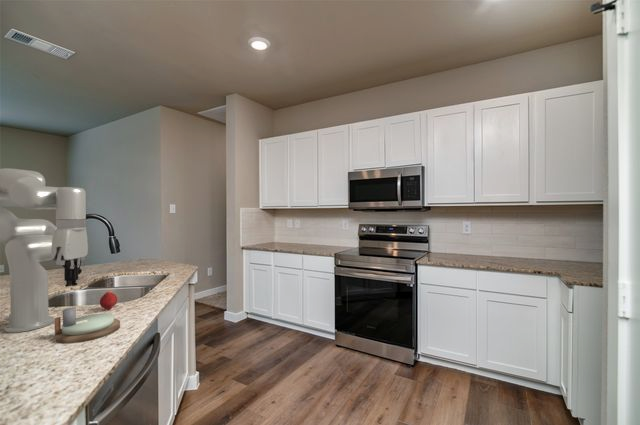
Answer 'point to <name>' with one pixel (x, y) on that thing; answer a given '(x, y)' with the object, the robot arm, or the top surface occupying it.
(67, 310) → the turntable
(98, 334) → the base plate
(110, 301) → the onion
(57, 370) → the top surface
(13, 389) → the top surface
